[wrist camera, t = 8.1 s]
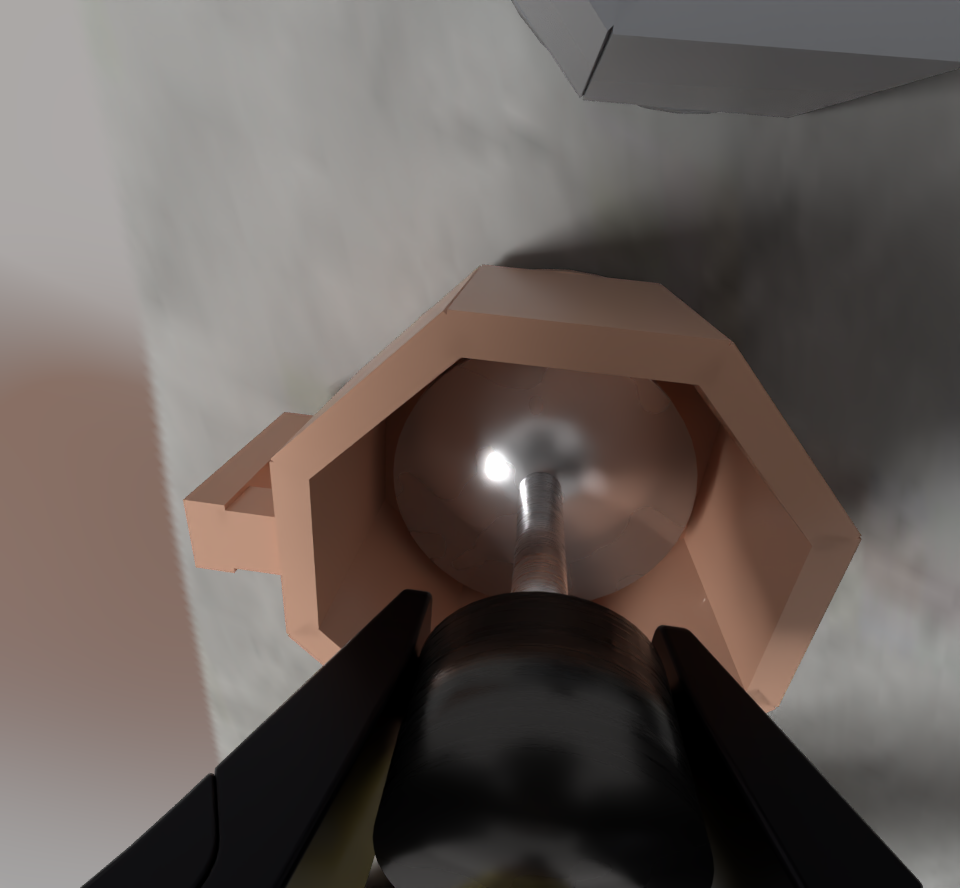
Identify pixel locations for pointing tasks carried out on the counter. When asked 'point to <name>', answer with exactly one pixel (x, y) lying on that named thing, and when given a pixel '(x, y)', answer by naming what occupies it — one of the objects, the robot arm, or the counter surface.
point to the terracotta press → (563, 345)
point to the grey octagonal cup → (744, 50)
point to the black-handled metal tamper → (542, 639)
